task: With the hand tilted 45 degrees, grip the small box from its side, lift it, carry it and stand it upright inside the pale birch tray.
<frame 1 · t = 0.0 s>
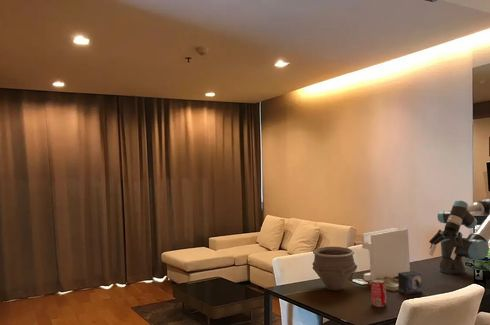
hand: (441, 256, 232), 15 cm above the table, tool tilted 35°, fingers open, 13 cm apart
tray: (389, 285, 231), on the table
block: (387, 276, 252), on the table
soda can: (379, 305, 199), on the table
planter: (335, 288, 230), on the table
small box: (410, 292, 217), on the table
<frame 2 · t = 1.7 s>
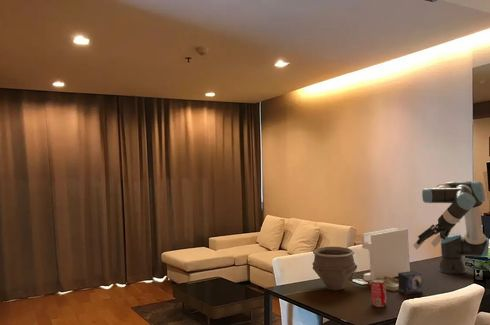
hand: (424, 246, 210), 26 cm above the table, tool tilted 45°, fingers open, 13 cm apart
nothing on the table moved.
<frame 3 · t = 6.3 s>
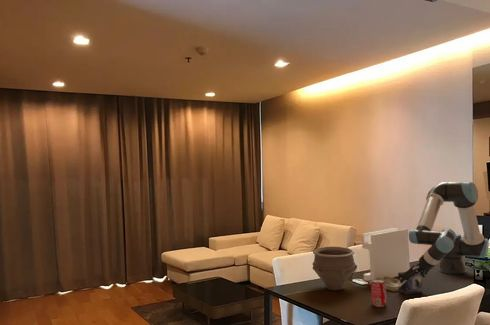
hand: (405, 283, 220), 4 cm above the table, tool tilted 45°, fingers closed on small box, 11 cm apart
small box: (410, 292, 217), on the table, touching gripper
everything else where it was.
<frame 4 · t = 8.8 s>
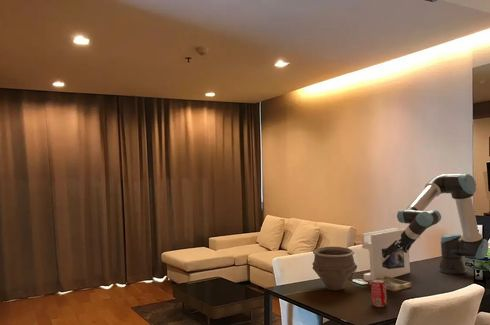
hand: (389, 258, 230), 16 cm above the table, tool tilted 45°, fingers closed on small box, 11 cm apart
small box: (393, 267, 227), point 11 cm above the table, touching gripper
everything else where it was.
when the fingers open (7 cm above the table, at t = 11.5 s): small box drops 2 cm, resting on tray.
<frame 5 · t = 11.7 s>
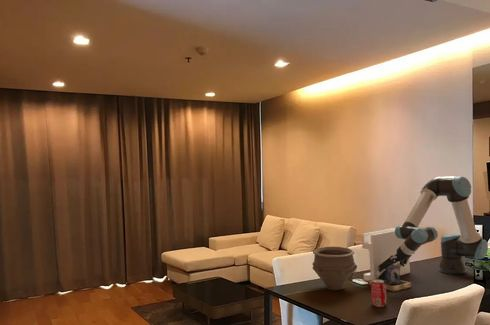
hand: (385, 272, 233), 7 cm above the table, tool tilted 45°, fingers open, 13 cm apart
small box: (389, 284, 231), point 1 cm above the table, touching tray
everything else where it was.
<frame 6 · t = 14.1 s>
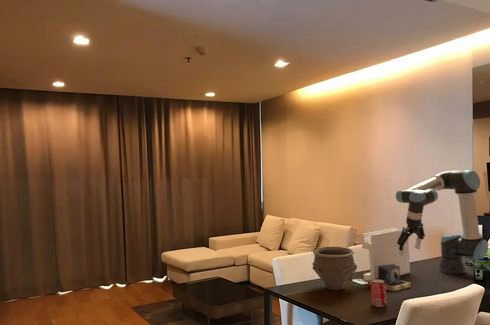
hand: (409, 251, 227), 20 cm above the table, tool tilted 20°, fingers open, 13 cm apart
nothing on the table moved.
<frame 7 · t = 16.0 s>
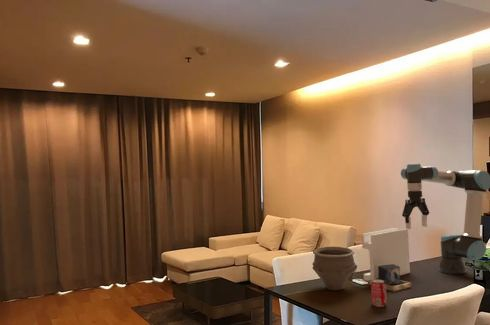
hand: (416, 227, 231), 33 cm above the table, tool pointing down, fingers open, 13 cm apart
nothing on the table moved.
at the end: small box inside the target area on the tray (0.1 cm from its centre), point 0.6 cm above the tray's base; small box tilted 0°; the gripper is holding nothing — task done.
